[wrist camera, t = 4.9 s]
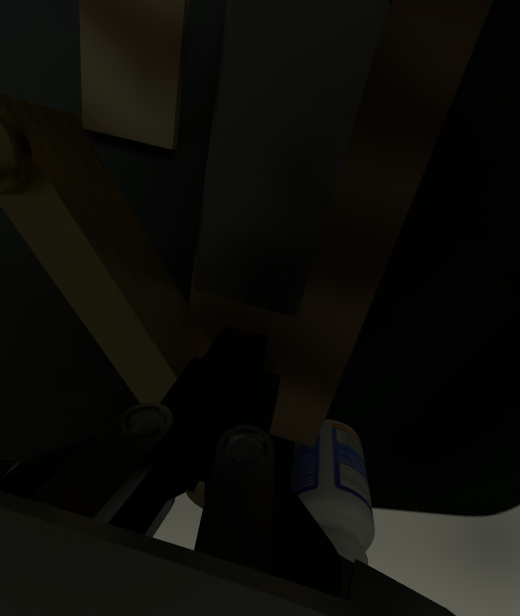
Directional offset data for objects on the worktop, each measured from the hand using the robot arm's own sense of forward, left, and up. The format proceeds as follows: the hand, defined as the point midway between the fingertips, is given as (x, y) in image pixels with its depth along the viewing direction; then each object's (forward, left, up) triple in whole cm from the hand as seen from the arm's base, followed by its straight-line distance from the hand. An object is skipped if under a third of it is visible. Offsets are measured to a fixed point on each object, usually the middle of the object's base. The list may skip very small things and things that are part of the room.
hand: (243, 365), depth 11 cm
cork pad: (-12, -11, -11) cm, 20 cm away
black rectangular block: (-6, -1, -7) cm, 9 cm away
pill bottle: (+13, +7, -11) cm, 18 cm away
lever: (0, -4, -7) cm, 8 cm away
